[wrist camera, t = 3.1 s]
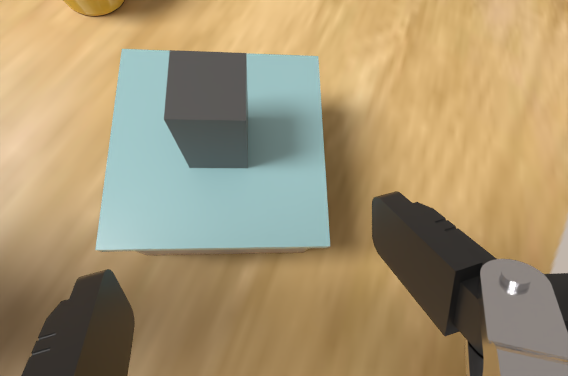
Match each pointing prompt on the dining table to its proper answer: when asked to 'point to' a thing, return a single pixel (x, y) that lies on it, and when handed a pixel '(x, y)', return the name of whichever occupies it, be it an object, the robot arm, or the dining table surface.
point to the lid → (215, 154)
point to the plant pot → (94, 6)
